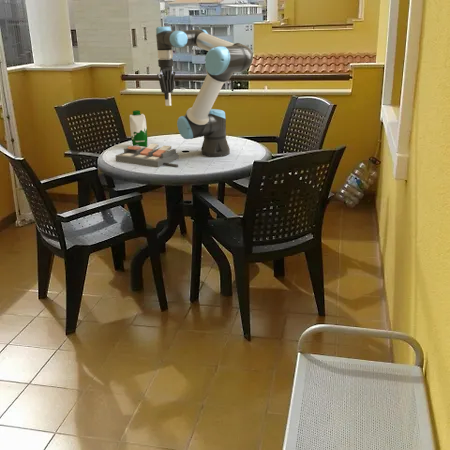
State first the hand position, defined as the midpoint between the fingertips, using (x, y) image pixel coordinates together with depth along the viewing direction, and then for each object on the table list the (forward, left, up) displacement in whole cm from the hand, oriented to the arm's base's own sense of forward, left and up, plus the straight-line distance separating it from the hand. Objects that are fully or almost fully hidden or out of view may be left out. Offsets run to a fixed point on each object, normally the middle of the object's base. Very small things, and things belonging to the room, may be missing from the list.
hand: (168, 105), depth 279 cm
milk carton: (+21, +1, -25) cm, 32 cm away
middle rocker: (0, +19, -20) cm, 27 cm away
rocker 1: (+8, +19, -20) cm, 28 cm away
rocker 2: (-8, +19, -20) cm, 28 cm away
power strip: (-4, +21, -24) cm, 32 cm away
